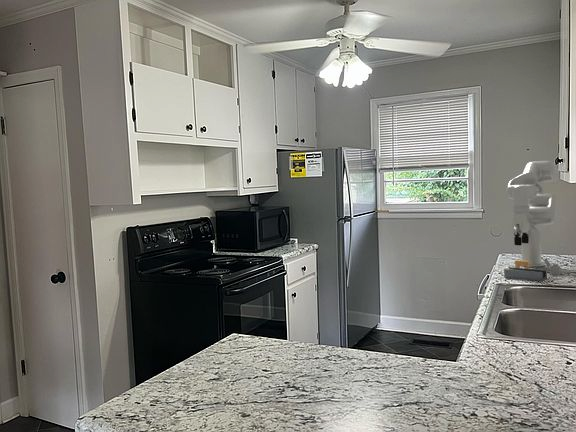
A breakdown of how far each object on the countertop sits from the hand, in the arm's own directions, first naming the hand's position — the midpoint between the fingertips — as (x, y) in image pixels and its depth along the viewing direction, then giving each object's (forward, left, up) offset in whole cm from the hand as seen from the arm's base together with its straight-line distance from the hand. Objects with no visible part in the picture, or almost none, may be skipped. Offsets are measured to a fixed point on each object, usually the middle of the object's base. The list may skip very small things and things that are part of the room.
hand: (521, 244), depth 243 cm
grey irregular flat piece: (-3, +13, -15) cm, 20 cm away
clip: (-1, 0, -15) cm, 15 cm away
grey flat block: (+11, +5, -15) cm, 19 cm away
